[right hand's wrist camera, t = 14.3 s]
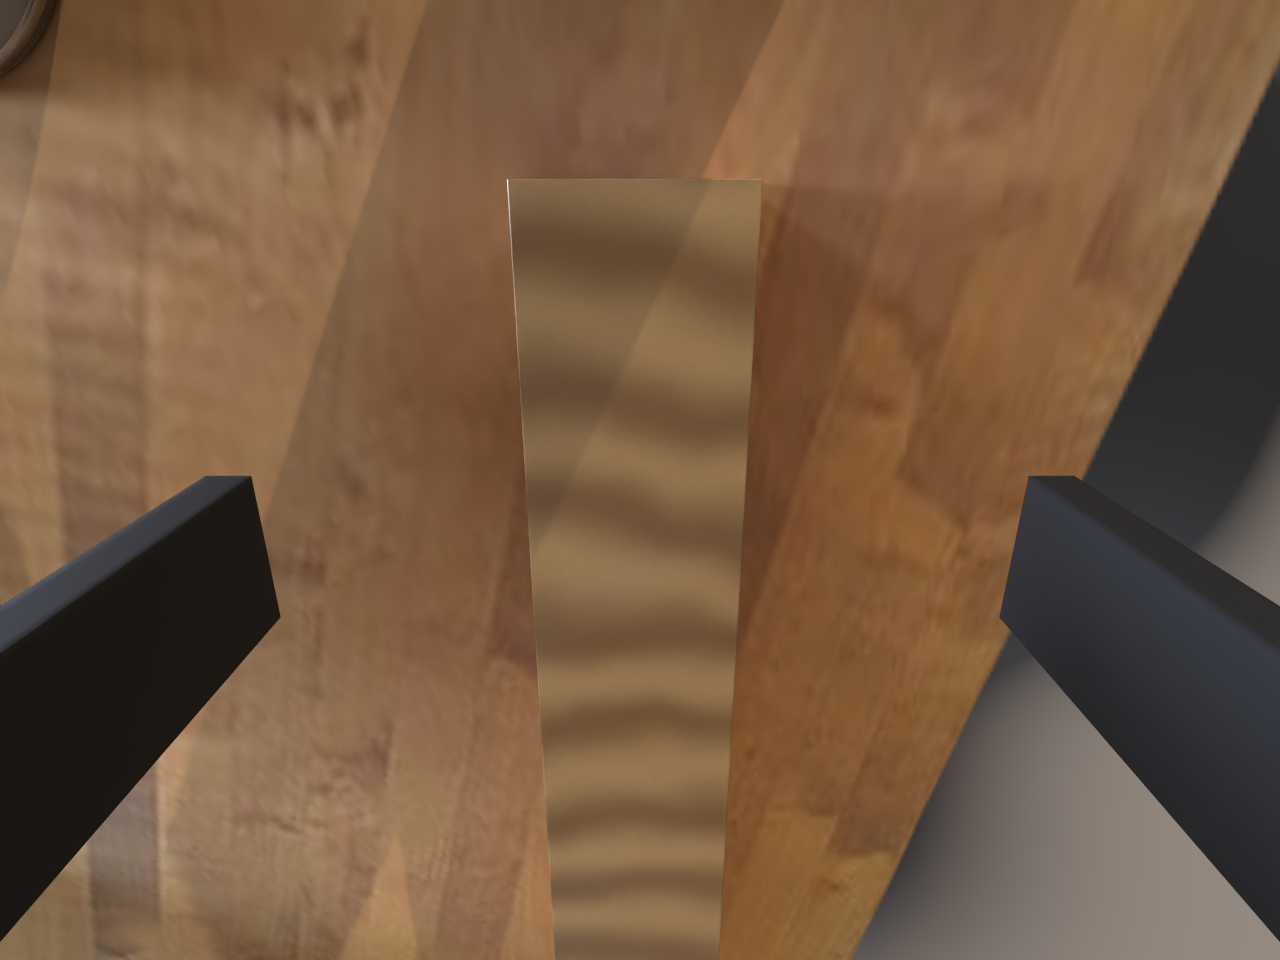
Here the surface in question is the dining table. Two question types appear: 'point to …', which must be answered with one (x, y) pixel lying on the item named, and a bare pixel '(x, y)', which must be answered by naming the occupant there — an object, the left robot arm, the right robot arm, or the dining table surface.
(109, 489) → the dining table surface
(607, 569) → the slab
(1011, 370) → the dining table surface
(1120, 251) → the dining table surface
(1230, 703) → the right robot arm
